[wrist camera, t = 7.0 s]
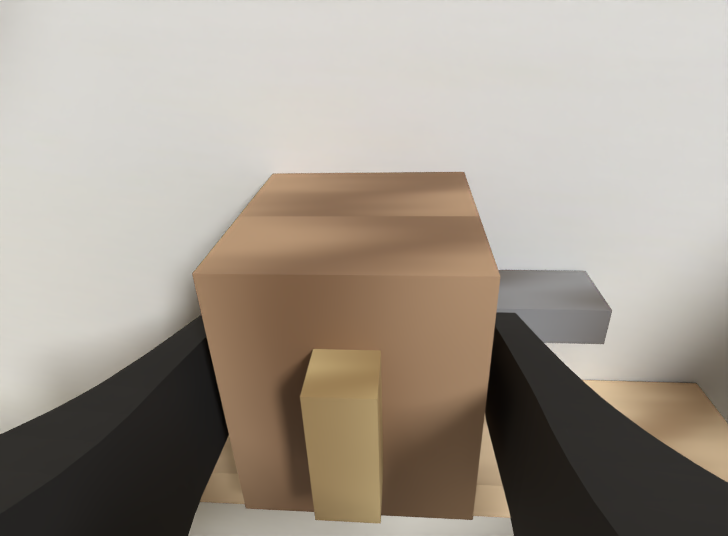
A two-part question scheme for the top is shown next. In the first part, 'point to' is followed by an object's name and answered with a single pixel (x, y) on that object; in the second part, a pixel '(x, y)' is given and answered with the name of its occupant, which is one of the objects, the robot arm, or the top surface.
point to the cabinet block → (354, 343)
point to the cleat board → (584, 326)
